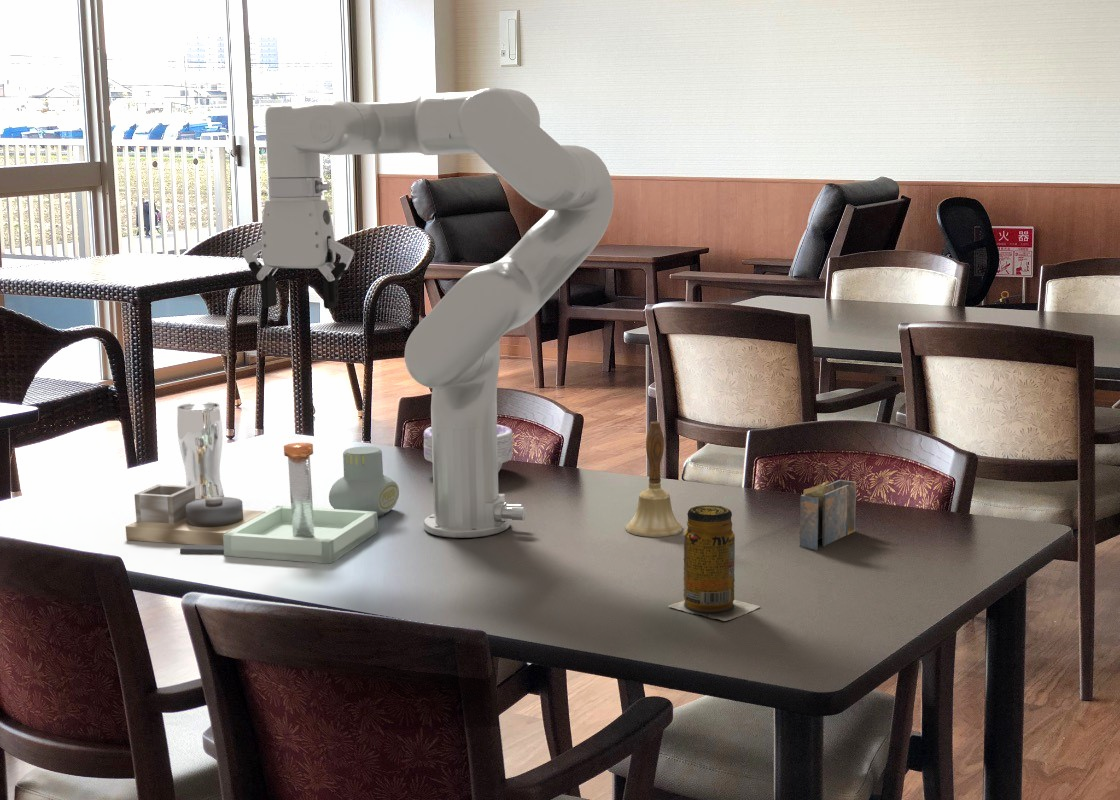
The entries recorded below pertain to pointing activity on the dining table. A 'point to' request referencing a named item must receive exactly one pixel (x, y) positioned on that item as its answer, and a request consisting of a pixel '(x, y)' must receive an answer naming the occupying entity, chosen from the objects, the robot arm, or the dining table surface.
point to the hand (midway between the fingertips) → (300, 306)
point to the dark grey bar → (203, 549)
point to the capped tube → (300, 488)
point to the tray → (276, 539)
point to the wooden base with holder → (185, 516)
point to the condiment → (710, 565)
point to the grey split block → (827, 513)
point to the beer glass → (201, 447)
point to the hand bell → (654, 495)
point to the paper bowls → (502, 444)
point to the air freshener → (364, 483)
